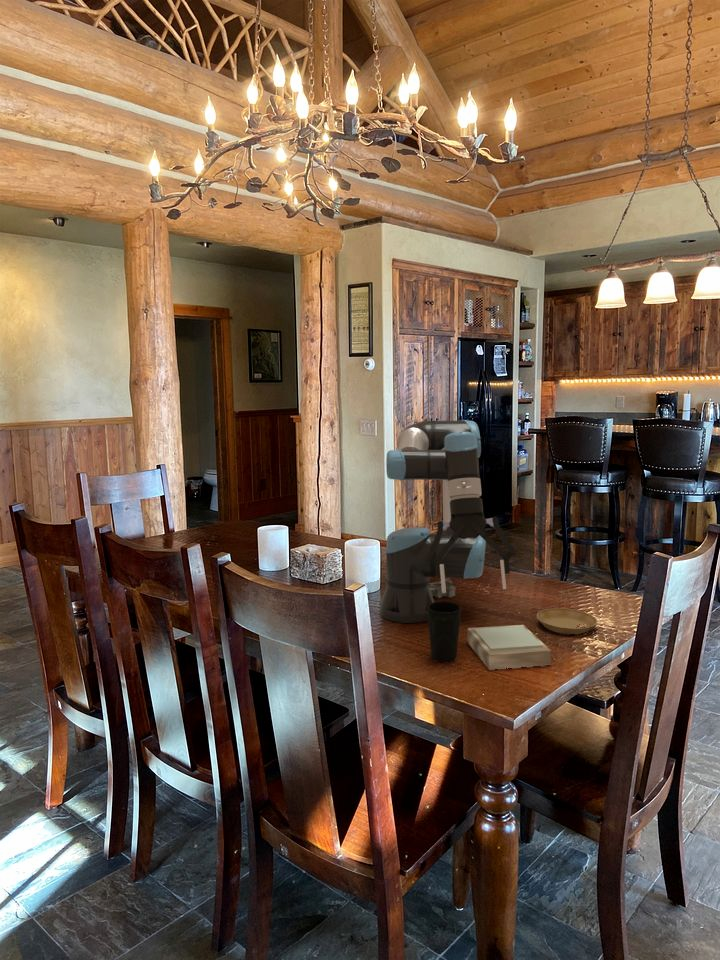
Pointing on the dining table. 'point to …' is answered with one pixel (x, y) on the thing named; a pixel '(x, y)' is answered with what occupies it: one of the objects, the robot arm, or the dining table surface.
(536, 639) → the stand
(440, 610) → the cup
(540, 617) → the plant saucer
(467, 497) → the robot arm
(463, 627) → the dining table surface
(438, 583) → the egg carton
